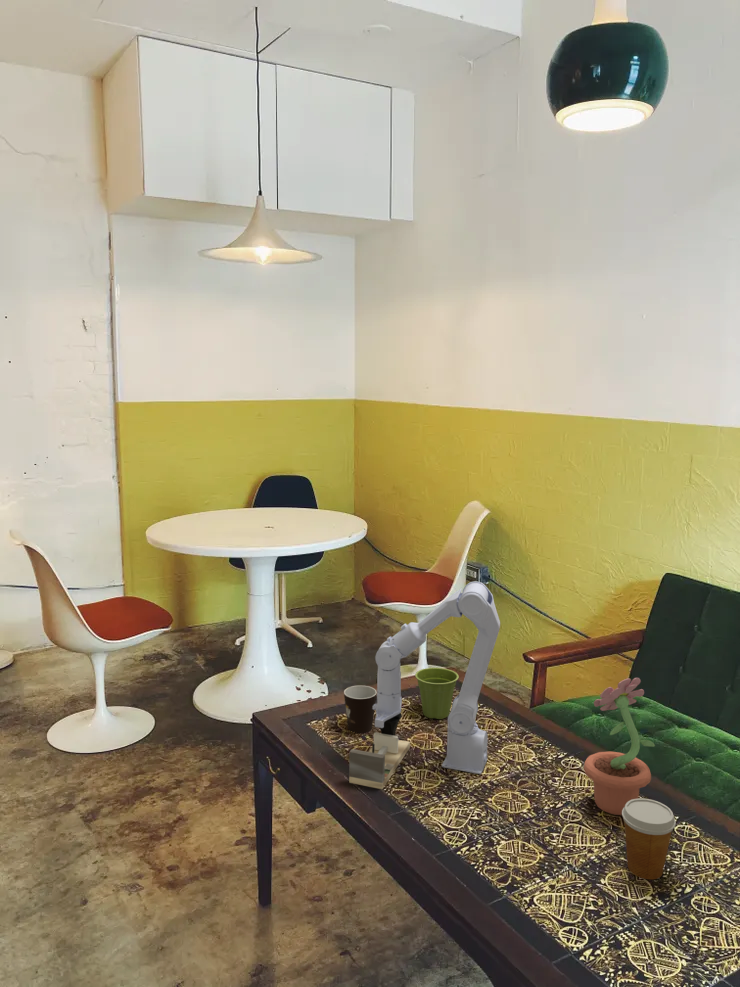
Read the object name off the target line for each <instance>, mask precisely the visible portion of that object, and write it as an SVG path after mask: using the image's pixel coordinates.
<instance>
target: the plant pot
mask: <svg viewBox="0 0 740 987" xmlns="http://www.w3.org/2000/svg"><path fill="white" fill-rule="evenodd" d="M414 676H415V678H416V679H417V684H418V688H419V694H420V699H421V700H420V701H421V708H422V713H423V716H424V717H426V718H427V719H428V718H429V719H437V720H442V719H446V718H448V716H449V714H450V712H451V709H452V703H453V696H454V691H455V688H456V685H457V681H458V679H459V677H460V676H459V674H458V673H457V671H454V670H452V669H448V668H444V667H425V668H422V669H420V670H418V671H417V672H415V675H414Z"/></svg>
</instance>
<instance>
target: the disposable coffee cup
mask: <svg viewBox="0 0 740 987" xmlns="http://www.w3.org/2000/svg"><path fill="white" fill-rule="evenodd" d="M621 816H622V818H623V822H624V833H625V847H626V850H625V851H626V860H627V861H626V863H627V868H628V871H629V872H630V873H632V875H634V876H636V877H638V878H640V879H644V880H657V879H659V878H661V877H662V876H663V873H664V868H665V863H666V860H667V853H668V850H669V846H670V841H671V837H672V831H673V830H674V828H675V826H676V825H677V824H676V818H675V817H674V813H673V810H671V808H670V807H668V806H667V805H665V804H664V803H662V802H660V801H657V800H654V799H651V798H650V799H649V798H639V797H638V799H632V800H630V801H628V802H627V803H626V804H625V807H624V808H623V810H622V815H621Z"/></svg>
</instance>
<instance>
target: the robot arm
mask: <svg viewBox="0 0 740 987" xmlns="http://www.w3.org/2000/svg"><path fill="white" fill-rule="evenodd" d="M494 600H495V599H494V595H493V593H492V592H491V591H490V589H489V588H488V587H487V585H485V584H484V583H483V582H481V581H477V580H475V581H470V582H469V583H467V584H465V586H464V588H462V587H461V588H459V589H458V590H456V591H455V592H454V593H452V594H451V595H449V596H448V597H447V598H445V599H444V601H442V602H441V603H440V604H439V605H437V607H435V608H434V609H432V611H431V612H429V614H426V616H425V617H424V618H422V619H421V620H420V621H418V622H413V621H411V622H409V623H408V624H407V623H404V624H402V625H401V627H400V630H399V631H398V632H397V633H396V634H394V635H393V636H389V637H387V639H386V640H385V641H384V642H383V643H381V645H380V647H379V648H378V650H377V652H376V653H375V656H374V659H375V663H376V665H377V674H376V675H377V676H376V677H377V678H376V679H377V680H376V681H377V687H376V691H377V694H376V703H375V704H374V705H373V709H374V711H375V713H376V714H375V719H374V727H375V728H378V729H379V730H380V733H382V734H388V735H393V736H396V732H397V729H398V725H399V722H400V721H401V719H402V717H403V716H402V715H403V714H402V713H401V712H402V702H403V701H402V700H403V697H402V695H401V693H402V692H401V690H402V688H401V687H402V684H401V683H402V672H401V660H402V659H403V658H404V659H405V658H406V657H408V656H409V655H410V654H412V653H413V652H415V651H416V650H417V649H418V648H420V647H421V646H422V645H423V644H424V643H425V642H426V641H427V634H429V633H430V632H431V631H432V630H435V628H437V627H439V625H440V624H442V623H443V622H445V621H447V619H449V618H451V617H452V618H453V617H454V618H462V616H464V617H466V618H467V619H468V620H469V621H471V622H472V623H473V624H474V626H475V627H476V628H477V630H478V633H477V636H476V639H475V642H474V646H473V648H472V653H471V655H470V658H469V662H468V664H467V668H466V671H465V674H464V679H463V682H462V685H461V688H460V691H459V693H458V695H456V696H455V698H454V699H453V700H452V703H451V708H450V713H449V716H448V717H447V738H446V740H447V744H446V745H447V746H446V748H447V749H446V756H445V759H444V761H443V762H442V764H441V768H444V769H445V768H446V769H449V770H456V771H459V772H460V771H462V772H467V773H472V774H478V775H481V774H482V773H483V771H484V769H485V766H486V764H487V761H488V737H489V736H488V731H486V730H483V729H481V728H479V726H478V723H477V722H476V718H477V715H478V712H479V705H478V700H479V696H480V693H481V689H482V687H483V683H484V680H485V676H486V674H487V670H488V667H489V664H490V661H491V658H492V656H493V655H492V654H493V652H494V649H495V644H496V642H497V639H498V636H499V632H500V628H501V620H500V617H499V614H498V611H497V608H496V604H495V601H494Z"/></svg>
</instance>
